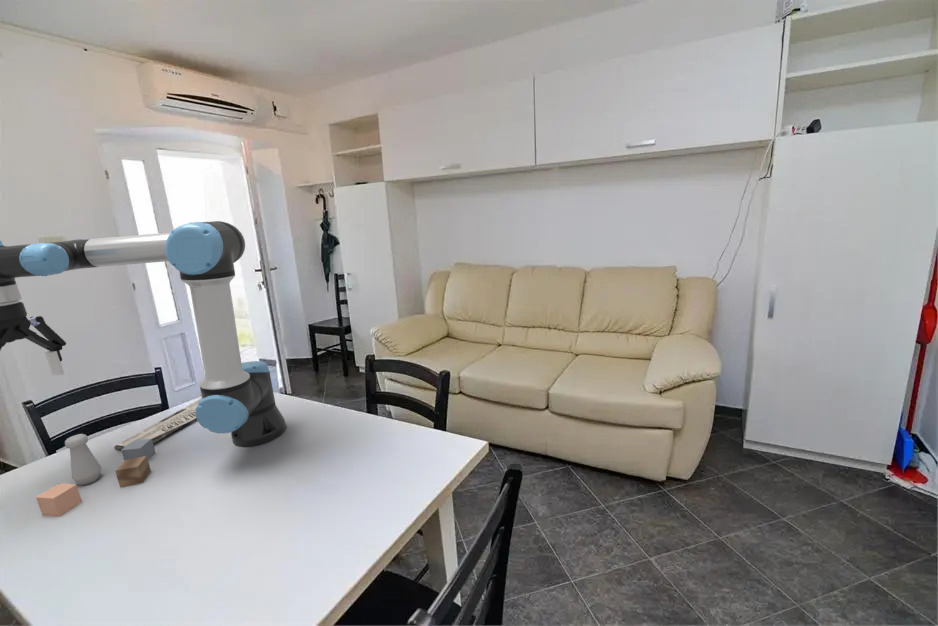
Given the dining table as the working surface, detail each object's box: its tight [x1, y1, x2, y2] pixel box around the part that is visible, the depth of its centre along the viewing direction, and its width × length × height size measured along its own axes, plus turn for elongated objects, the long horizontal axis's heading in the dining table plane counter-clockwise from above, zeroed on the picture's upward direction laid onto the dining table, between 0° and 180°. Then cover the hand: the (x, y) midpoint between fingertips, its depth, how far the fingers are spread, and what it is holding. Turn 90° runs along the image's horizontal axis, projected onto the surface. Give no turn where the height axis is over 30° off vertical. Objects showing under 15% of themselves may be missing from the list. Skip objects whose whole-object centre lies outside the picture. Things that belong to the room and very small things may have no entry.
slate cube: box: [120, 439, 157, 461], centre depth 118 cm, size 5×5×5 cm
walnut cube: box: [114, 456, 152, 488], centre depth 109 cm, size 5×5×5 cm
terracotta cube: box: [35, 483, 83, 517], centre depth 99 cm, size 5×5×5 cm
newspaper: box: [113, 397, 202, 450], centre depth 139 cm, size 35×12×4 cm, turn 167°
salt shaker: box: [64, 433, 102, 486], centre depth 109 cm, size 6×6×13 cm
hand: (30, 385), depth 105 cm, fingers open, 13 cm apart
